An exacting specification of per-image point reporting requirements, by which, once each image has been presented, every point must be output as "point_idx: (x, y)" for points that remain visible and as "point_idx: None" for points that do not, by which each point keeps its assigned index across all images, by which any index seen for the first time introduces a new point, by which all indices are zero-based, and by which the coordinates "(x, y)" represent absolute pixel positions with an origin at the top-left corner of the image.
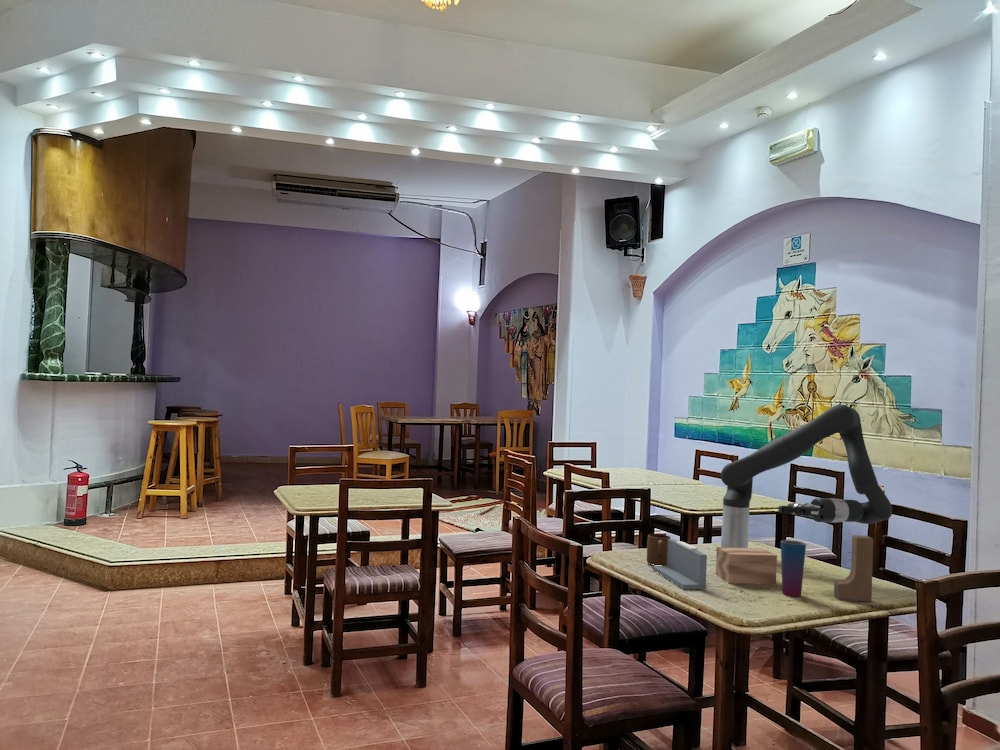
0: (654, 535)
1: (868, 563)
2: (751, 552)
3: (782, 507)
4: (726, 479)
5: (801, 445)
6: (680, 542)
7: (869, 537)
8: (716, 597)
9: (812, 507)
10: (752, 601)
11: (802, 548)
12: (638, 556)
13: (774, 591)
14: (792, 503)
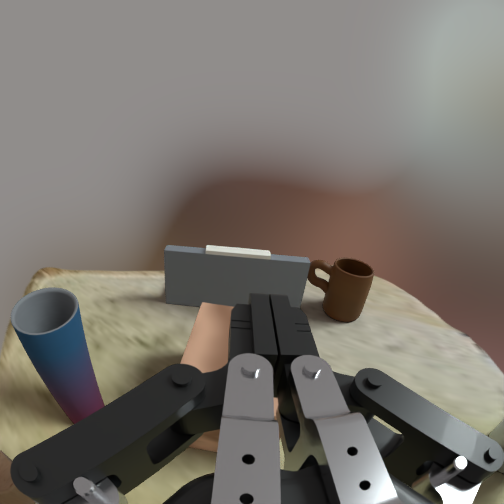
0: (369, 269)
1: None
2: (216, 353)
3: (249, 301)
4: None
5: None
6: (260, 251)
7: None
8: (125, 296)
9: None
10: (86, 321)
11: (17, 317)
12: (386, 305)
13: (119, 396)
14: (473, 432)
